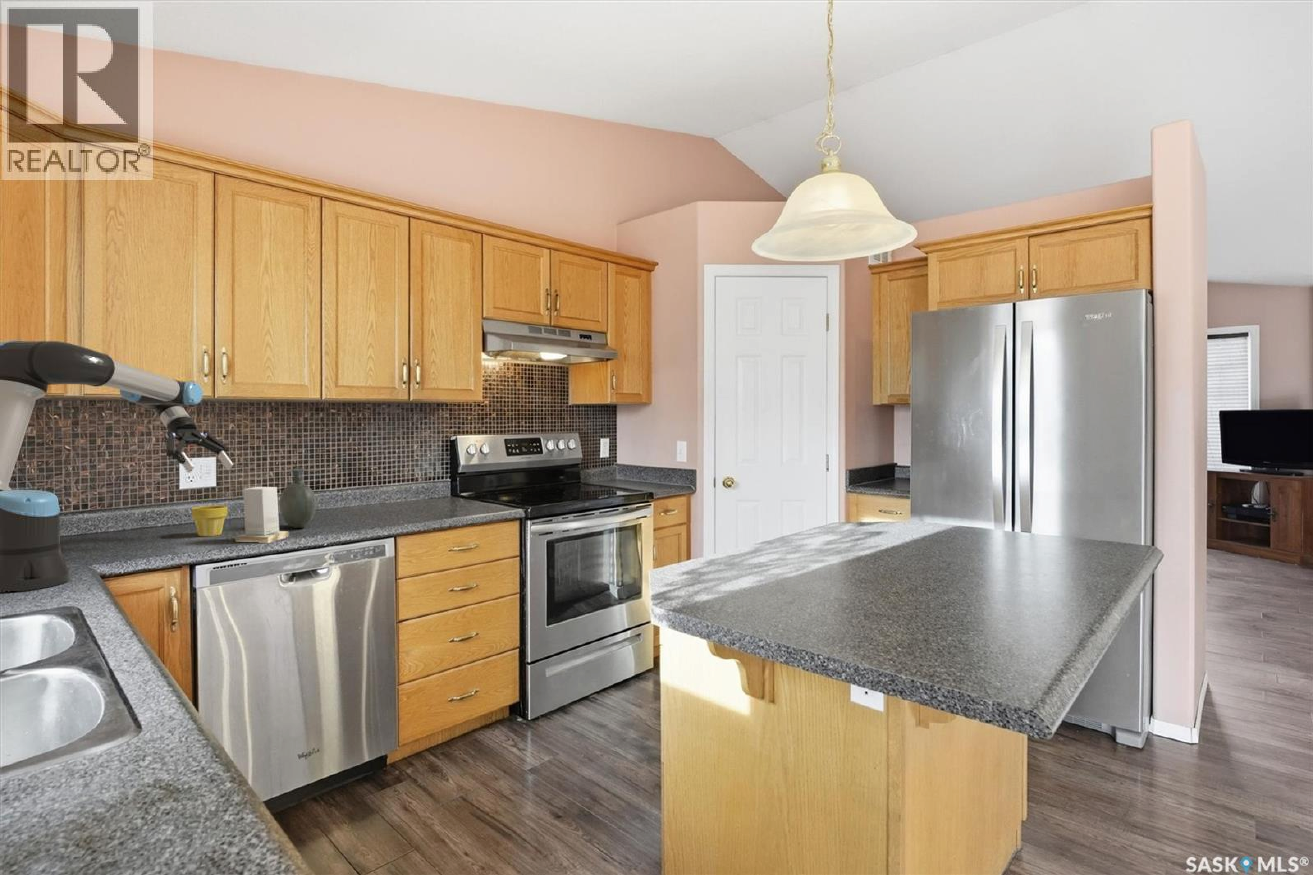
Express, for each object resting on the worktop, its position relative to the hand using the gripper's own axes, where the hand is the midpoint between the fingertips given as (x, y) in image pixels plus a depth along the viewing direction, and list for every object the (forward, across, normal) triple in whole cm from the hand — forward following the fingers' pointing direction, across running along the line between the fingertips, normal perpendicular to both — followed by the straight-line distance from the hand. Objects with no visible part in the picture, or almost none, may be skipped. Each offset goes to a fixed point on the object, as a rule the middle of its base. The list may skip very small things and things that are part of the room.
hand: (211, 468), depth 218 cm
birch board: (+27, -7, -7) cm, 29 cm away
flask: (+21, -29, -13) cm, 38 cm away
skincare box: (+25, -7, -6) cm, 27 cm away
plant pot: (+9, -8, -25) cm, 28 cm away
